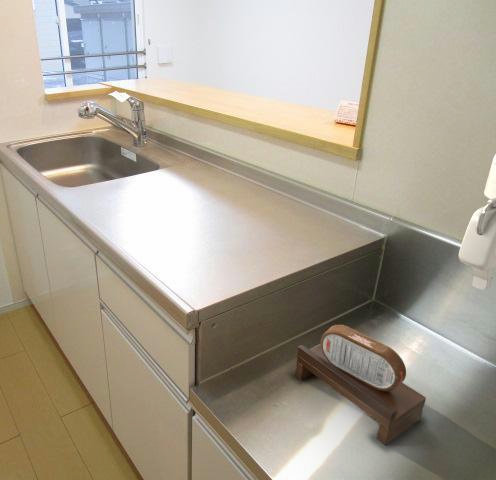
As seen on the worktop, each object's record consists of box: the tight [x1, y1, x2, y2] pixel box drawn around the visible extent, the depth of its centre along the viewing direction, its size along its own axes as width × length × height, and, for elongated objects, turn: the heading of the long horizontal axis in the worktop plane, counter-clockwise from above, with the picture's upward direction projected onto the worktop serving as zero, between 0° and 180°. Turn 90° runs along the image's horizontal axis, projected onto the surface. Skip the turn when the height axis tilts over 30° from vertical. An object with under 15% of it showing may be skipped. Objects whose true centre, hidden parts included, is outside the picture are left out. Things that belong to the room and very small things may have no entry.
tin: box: [320, 324, 407, 391], centre depth 80 cm, size 15×3×8 cm, turn 41°
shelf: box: [294, 343, 427, 446], centre depth 83 cm, size 10×20×7 cm, turn 32°
